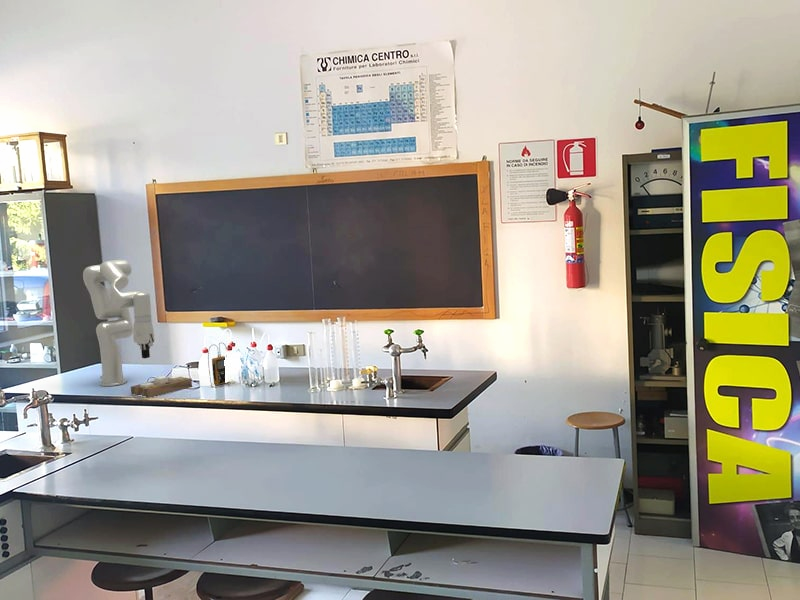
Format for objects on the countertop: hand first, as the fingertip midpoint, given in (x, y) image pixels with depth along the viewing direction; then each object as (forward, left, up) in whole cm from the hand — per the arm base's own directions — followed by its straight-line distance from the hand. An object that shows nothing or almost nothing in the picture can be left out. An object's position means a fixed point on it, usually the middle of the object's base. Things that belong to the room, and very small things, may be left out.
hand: (145, 357), depth 355 cm
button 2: (+3, +13, -16) cm, 21 cm away
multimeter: (+23, +27, -17) cm, 40 cm away
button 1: (+3, -3, -16) cm, 17 cm away
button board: (+3, +5, -17) cm, 18 cm away
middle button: (+3, +5, -15) cm, 16 cm away
